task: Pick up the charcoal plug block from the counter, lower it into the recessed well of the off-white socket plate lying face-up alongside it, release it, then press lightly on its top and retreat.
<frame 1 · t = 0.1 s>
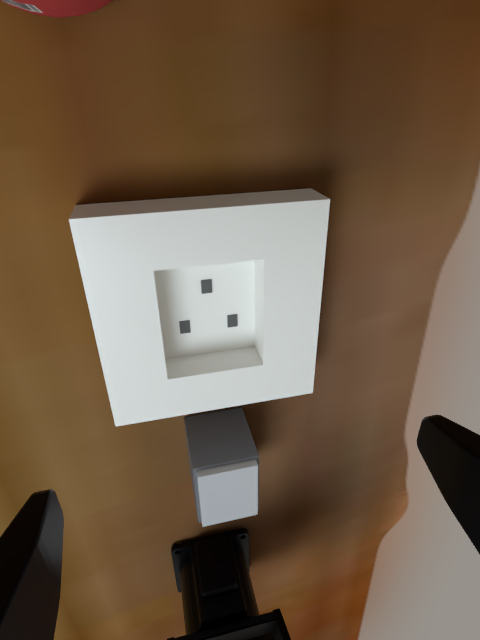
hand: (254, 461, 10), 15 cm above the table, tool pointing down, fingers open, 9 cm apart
plug: (214, 437, 29), on the table
socket plate: (206, 301, 24), on the table
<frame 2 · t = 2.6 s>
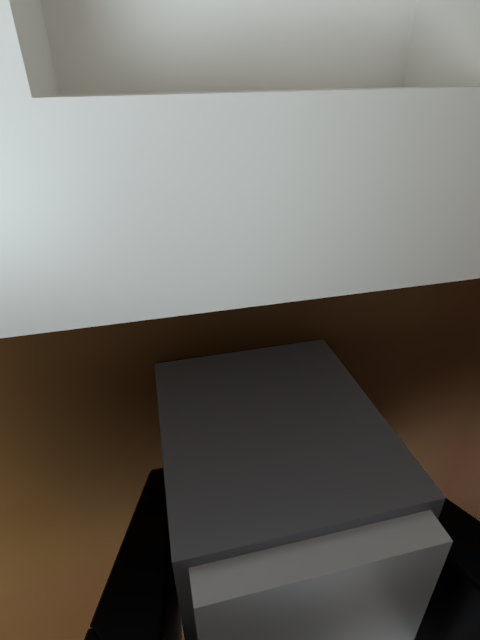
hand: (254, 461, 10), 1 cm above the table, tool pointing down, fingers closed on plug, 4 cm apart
plug: (243, 430, 11), on the table, touching gripper
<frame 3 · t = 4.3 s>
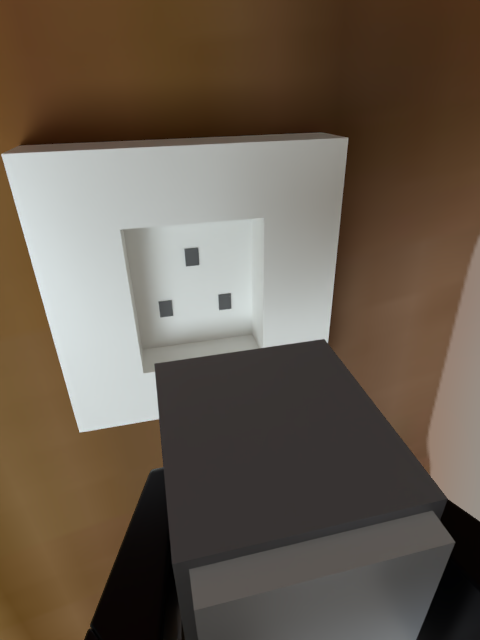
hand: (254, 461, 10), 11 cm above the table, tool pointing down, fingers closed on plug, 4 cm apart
plug: (244, 431, 11), point 10 cm above the table, touching gripper
socket plate: (192, 277, 19), on the table
when the fingers open (3 cm above the table, at t = 6.1 s): plug drops 1 cm, resting on socket plate.
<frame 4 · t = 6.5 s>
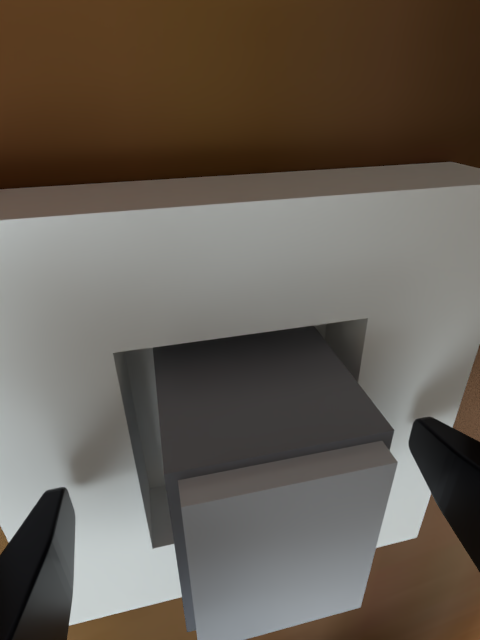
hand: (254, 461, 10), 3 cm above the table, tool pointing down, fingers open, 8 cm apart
plug: (231, 395, 12), point 1 cm above the table, touching socket plate
socket plate: (228, 384, 12), on the table
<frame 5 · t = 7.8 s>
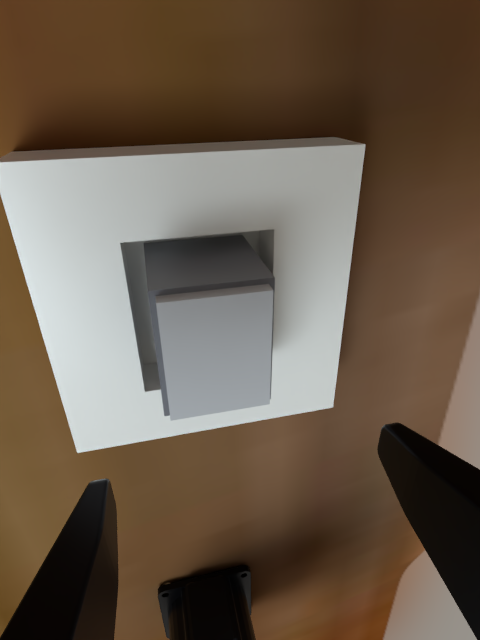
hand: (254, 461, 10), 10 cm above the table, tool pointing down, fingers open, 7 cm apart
plug: (197, 294, 18), point 1 cm above the table, touching socket plate
socket plate: (196, 289, 18), on the table
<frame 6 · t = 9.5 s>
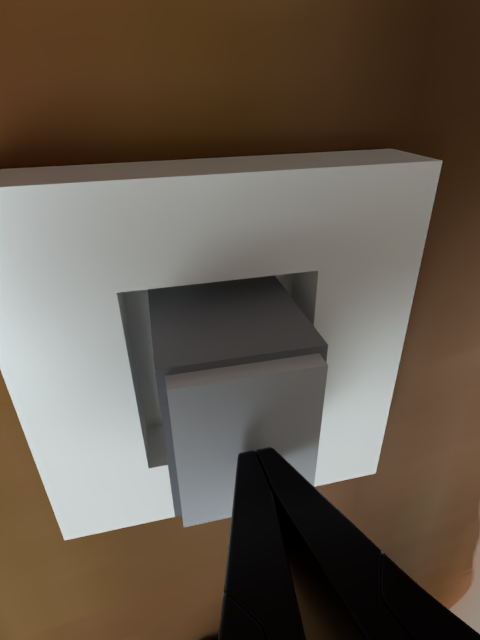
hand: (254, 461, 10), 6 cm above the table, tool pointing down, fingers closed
plug: (214, 344, 14), point 1 cm above the table, touching socket plate
socket plate: (212, 336, 15), on the table
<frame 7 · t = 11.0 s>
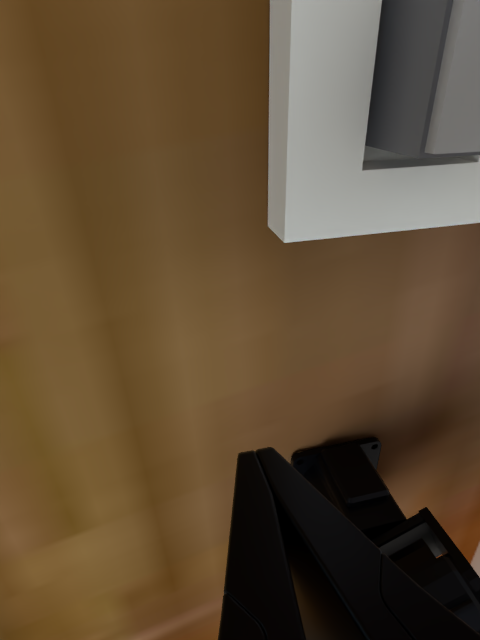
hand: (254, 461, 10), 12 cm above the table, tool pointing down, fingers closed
plug: (408, 77, 17), point 1 cm above the table, touching socket plate
socket plate: (401, 78, 18), on the table
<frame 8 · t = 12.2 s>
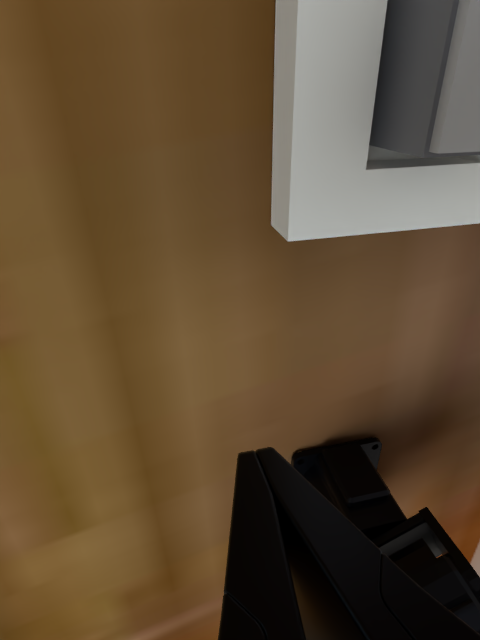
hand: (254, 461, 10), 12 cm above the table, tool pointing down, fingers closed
plug: (412, 77, 18), point 1 cm above the table, touching socket plate
socket plate: (405, 78, 18), on the table
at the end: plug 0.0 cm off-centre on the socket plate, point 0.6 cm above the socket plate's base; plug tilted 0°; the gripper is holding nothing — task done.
